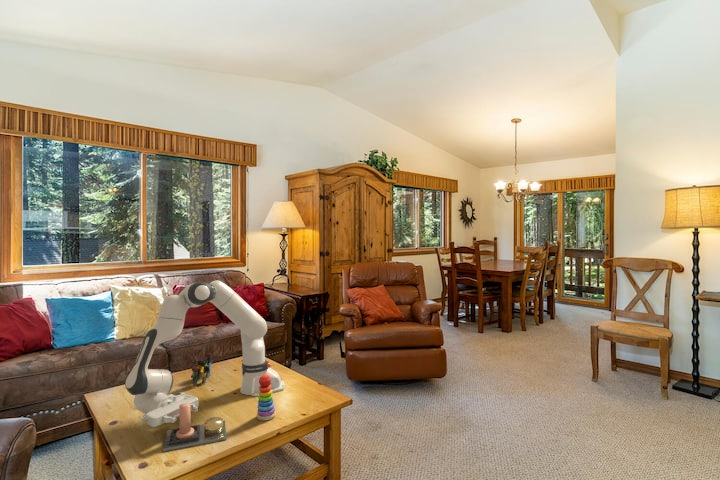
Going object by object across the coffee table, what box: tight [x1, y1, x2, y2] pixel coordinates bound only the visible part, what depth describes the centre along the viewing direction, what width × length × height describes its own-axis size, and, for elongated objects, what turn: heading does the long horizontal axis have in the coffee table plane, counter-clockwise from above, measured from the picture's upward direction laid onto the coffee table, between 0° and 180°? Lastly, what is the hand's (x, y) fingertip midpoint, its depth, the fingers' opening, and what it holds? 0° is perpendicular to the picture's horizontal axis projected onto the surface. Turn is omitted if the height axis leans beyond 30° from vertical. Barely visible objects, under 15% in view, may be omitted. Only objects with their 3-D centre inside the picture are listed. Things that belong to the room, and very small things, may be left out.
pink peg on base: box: [176, 403, 194, 439], centre depth 152 cm, size 6×6×12 cm
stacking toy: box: [256, 375, 276, 421], centre depth 169 cm, size 8×8×19 cm
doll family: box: [190, 352, 214, 389], centre depth 210 cm, size 23×9×13 cm, turn 14°
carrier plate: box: [162, 416, 227, 452], centre depth 154 cm, size 22×14×5 cm, turn 111°
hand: (185, 414), depth 152 cm, fingers open, 8 cm apart
